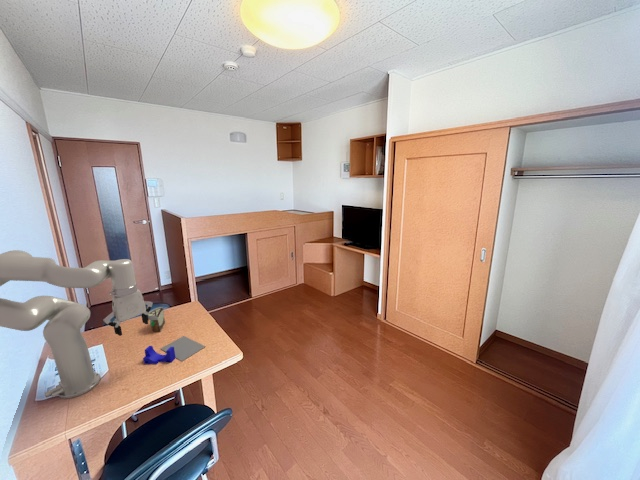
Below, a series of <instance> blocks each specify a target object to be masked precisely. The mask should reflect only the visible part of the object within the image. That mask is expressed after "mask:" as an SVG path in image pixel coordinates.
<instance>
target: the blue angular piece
mask: <svg viewBox="0 0 640 480" xmlns="http://www.w3.org/2000/svg"><path fill="white" fill-rule="evenodd" d="M165 353H166V354H161V353H158V352H156V350H155V349H154V346H153V345H148V347H146V348H145V349H144V355H145V356H144V357H142V358H143V359H142V360H143V363H144V365H158V363H173V361H175V359H177V358H176V357H175V351H174V347H170V348H169V349H168V350H167V351H166V352H165Z"/></svg>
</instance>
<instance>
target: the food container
mask: <svg viewBox="0 0 640 480" xmlns="http://www.w3.org/2000/svg"><path fill="white" fill-rule="evenodd" d="M164 310H165V309H164V306H159V307H155V308H152V309H151V310H150V311H149V314H148V319H149V322H150V323H149V324H150V327H151V329H152V332H154V333H161V332H162V330H163V328H164V327H165V324H166V320H165V313H164Z"/></svg>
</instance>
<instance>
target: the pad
mask: <svg viewBox="0 0 640 480" xmlns="http://www.w3.org/2000/svg"><path fill="white" fill-rule="evenodd" d="M170 347H174V351H175V357H176V358H175V359H177V360H178V361H180V362H185V360H187V359H188V358H190V357H191V356H193V355H195V354H197V353H198V352H200V351H201V350H203V349H205V348H206V346H205V345H203V344H201V343H199V342H197V341H195V340H193V339H192V338H189V337H188V336H185V335H182V336H181V337H179V338H177V339H176V340H173V341H172V342H169V343H168V344H166V345H164V346H163V347H160V349H159V350H161V351H163V352H165V353H166V351H167V350H168V349H169V348H170Z"/></svg>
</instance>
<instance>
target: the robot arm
mask: <svg viewBox="0 0 640 480" xmlns="http://www.w3.org/2000/svg"><path fill="white" fill-rule="evenodd" d="M135 275H136V274H135V269H134V264H133V261H132V260H131V259H128V258H123V259H116V260H105V259H103V260H101V259H100V260H95V261H93V262H91V263H89V264H88V265H87V266H85V267H69V266H62V265H59V264H57V263H56V261H55V259H53V258H51V257H42V256H32V254H31V253H29V252H27V251H24V250H18V249H17V250H15V249H14V250H8V251H5V252H2V253H0V287H2V286H3V285H5V284H7V283H8V282H10V281H14V282H15V281H16V282H17V281H19V282H21V281H22V282H43V283H47V284H49V285H52V286H55V287H58V288H65V289H88V288H89V289H91V288H95V287H97V286H99V285H101V284H102V283H103V282H104V281H105V280H107V279H110V281H111V286H112V290H111V291H110V292H109V293H108V294H109V296H110V297H111V296H112V301H111V305H112V306H111V307H112V312H111V313H109V314H108V315H107V316H106V317H105V318H103V322H104V323H105V324H107V325H108V326H109V327H112V328H113V330H114V334H115V335H117V336H119V337H121V336H123V333H122V327H121V326H120V324H121V323H122V322H125V321H127V320H130V319H134V318H135V317H138V316H140V315H141V319H142V323H143V324H144V325H149V322H150V320H149V319H148V314H149V312H150V311H151V310H152V307H153V303H154V302H153V301H148V300H147V301H146V300H144V296H143V293H142V292H141V290H140V289H138V285H137V281H136V276H135ZM146 305H147V306H146ZM90 318H91V310H90V309H89V307H87V306H86V305H84V304H82V303H80V302H76V301H71V300H67V299H64V298H61V297H57V296H51V295H38V296H35V297H31V298H30V299H28V300H26V301H23V302H22V301H21V302H19V301H15V300H10V299H8V298H7V299H6V298H1V297H0V327H1V328H7V329H11V330H15V331H21V332H29V331H33V330H35V329H37V328H39V327H41V325H43V324H44V323H45V322H46V321H48V322H46V324H45V325H44V327H43V330H42V336H43V338H44V340H45V342H46V343H47V345H48V346H49V348H50V352H51V354H52V357H53V360H54V364H55V366H56V370H57V374H58V376H59V381H58V384H57V385H56V386H55V387H53V388H52V389H50V390H47V391H45V392H44V396H45V398H49V397H52V398H54V397H56V396H58V397H59V398H60V399H65V400H66V399H73V398H76V397H79V396H81V395H83V394H86V393H88V392H90V391H91V390H92V389H94V388H95V387H96V386H97V385H98V384H99V383H100V381H101V378H102V377H101V374H100V373H99V372H95V369H94V365H93V363H92V358H91V355H90V351H89V347H88V344H87V341H86V338H85V337H84V336H83V334H82V333H81V329H82V328H83V327H84V325H85V324H86V323H87V322H88V321H89V319H90ZM113 318H114V320H113V321H111V320H112V319H113Z"/></svg>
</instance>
